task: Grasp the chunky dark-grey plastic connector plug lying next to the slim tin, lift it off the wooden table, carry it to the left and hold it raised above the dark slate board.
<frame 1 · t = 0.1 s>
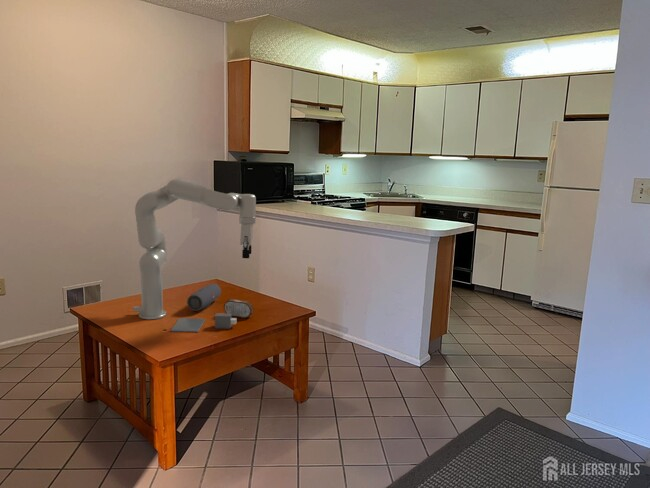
hand: (246, 255, 229), 31 cm above the table, tool pointing down, fingers open, 9 cm apart
connector: (223, 327, 222), on the table
slate board: (188, 325, 221), on the table
tin: (238, 316, 237), on the table
bluetooth speaker: (204, 306, 250), on the table
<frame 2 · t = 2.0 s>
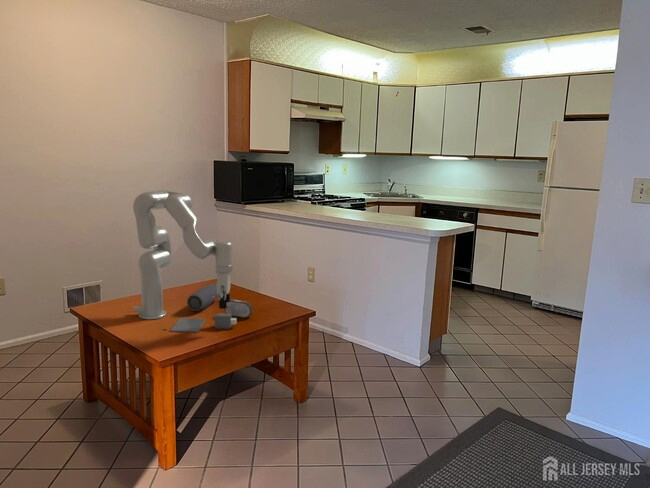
hand: (224, 305, 220), 11 cm above the table, tool pointing down, fingers open, 9 cm apart
nothing on the table moved.
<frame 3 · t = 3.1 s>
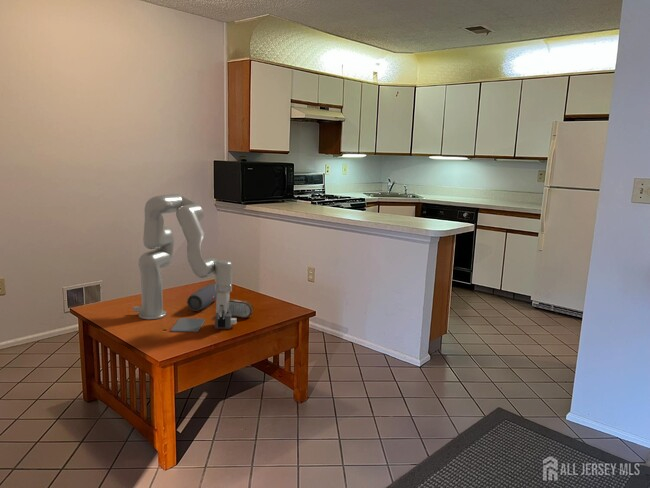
hand: (223, 323, 222), 2 cm above the table, tool pointing down, fingers open, 9 cm apart
nothing on the table moved.
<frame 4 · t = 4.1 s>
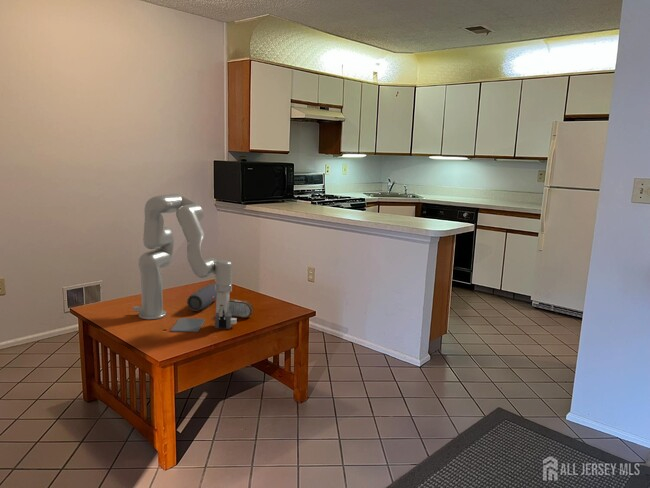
hand: (223, 325, 222), 1 cm above the table, tool pointing down, fingers closed on connector, 3 cm apart
connector: (223, 326, 222), on the table, touching gripper
everything else where it was.
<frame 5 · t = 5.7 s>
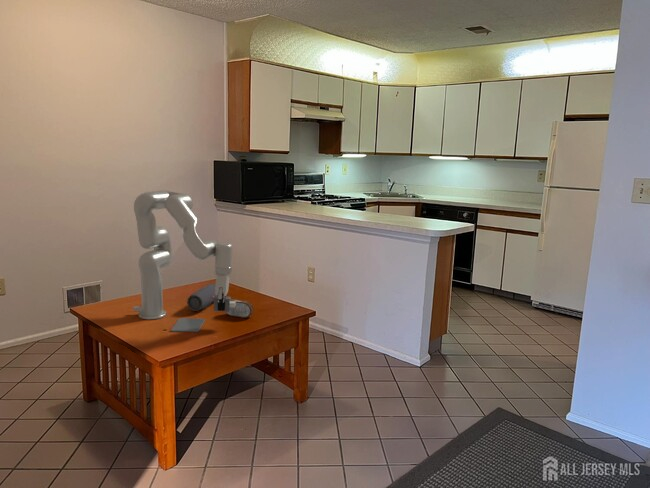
hand: (221, 308, 220), 9 cm above the table, tool pointing down, fingers closed on connector, 3 cm apart
connector: (221, 310, 221), point 8 cm above the table, touching gripper
everything else where it was.
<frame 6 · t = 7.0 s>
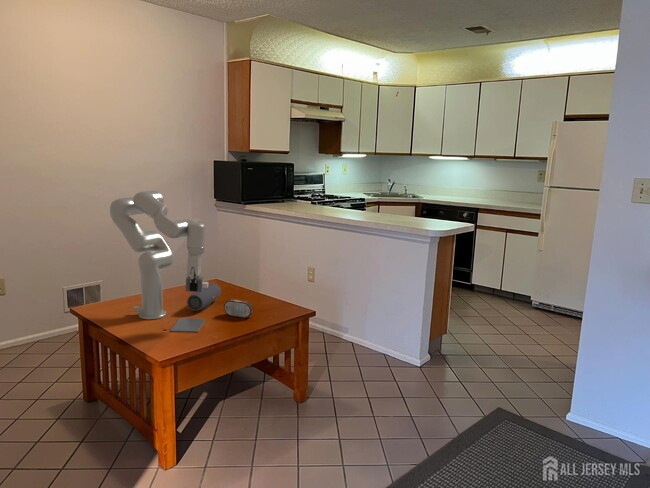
hand: (194, 289, 219), 18 cm above the table, tool pointing down, fingers closed on connector, 3 cm apart
connector: (194, 290, 219), point 17 cm above the table, touching gripper
everything else where it was.
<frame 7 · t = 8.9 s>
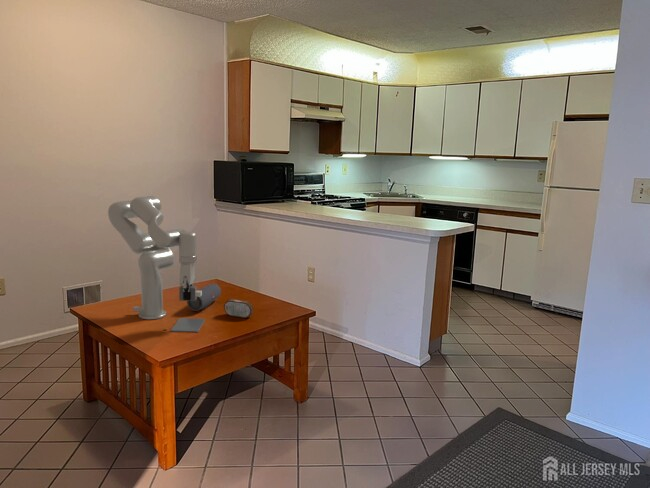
hand: (188, 298, 219), 13 cm above the table, tool pointing down, fingers closed on connector, 3 cm apart
connector: (188, 299, 219), point 13 cm above the table, touching gripper
everything else where it was.
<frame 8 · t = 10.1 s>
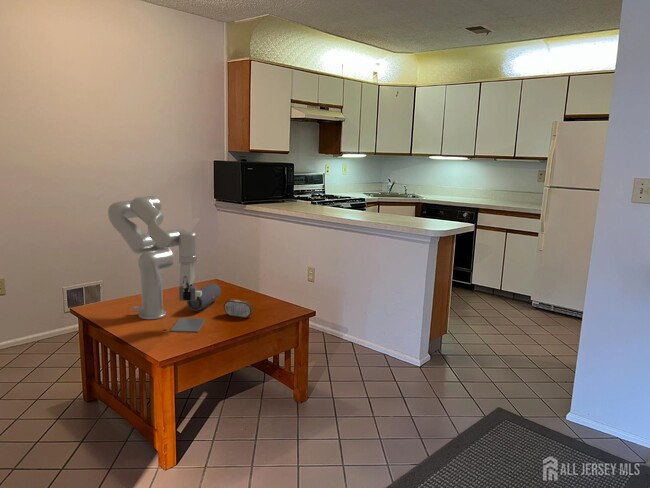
hand: (188, 298, 219), 13 cm above the table, tool pointing down, fingers closed on connector, 3 cm apart
connector: (188, 299, 219), point 13 cm above the table, touching gripper
everything else where it was.
at the end: the gripper is holding connector; connector inside the target area on the slate board (0.0 cm from its centre), point 12.5 cm above the slate board's base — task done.
